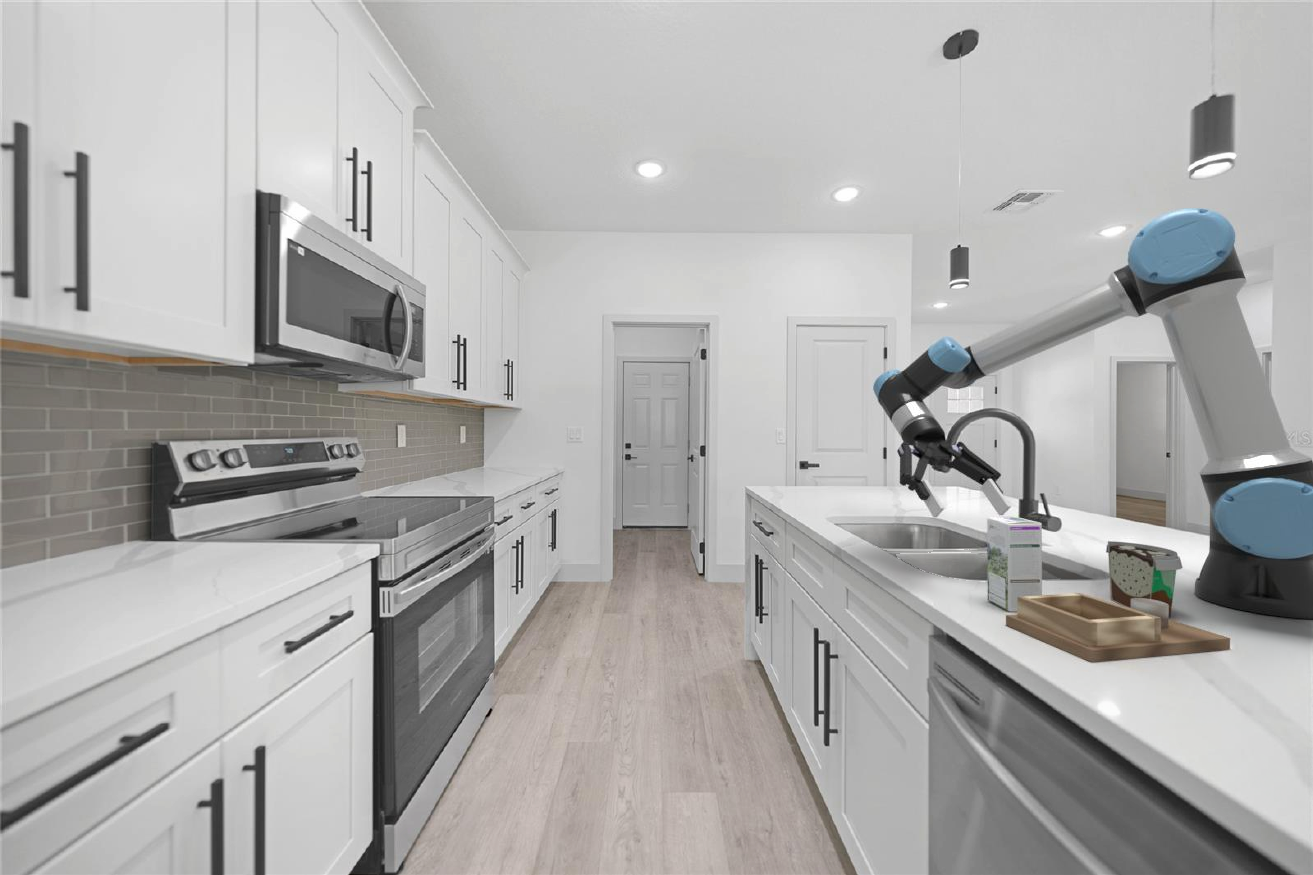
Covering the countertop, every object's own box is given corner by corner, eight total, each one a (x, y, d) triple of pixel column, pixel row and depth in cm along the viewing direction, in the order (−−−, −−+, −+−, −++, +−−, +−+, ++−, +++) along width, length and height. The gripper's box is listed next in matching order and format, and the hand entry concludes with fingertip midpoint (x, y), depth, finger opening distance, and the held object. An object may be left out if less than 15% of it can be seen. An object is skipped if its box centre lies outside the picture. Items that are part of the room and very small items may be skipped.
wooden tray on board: (1127, 616, 84) (1127, 587, 83) (1230, 649, 71) (1230, 615, 71) (1005, 625, 80) (1006, 595, 79) (1091, 662, 67) (1091, 626, 67)
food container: (1204, 625, 80) (1205, 558, 80) (1156, 622, 81) (1156, 556, 81) (1146, 600, 92) (1147, 541, 92) (1105, 597, 93) (1105, 540, 93)
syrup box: (1043, 612, 85) (1044, 522, 85) (1006, 612, 85) (1007, 521, 85) (1020, 601, 91) (1020, 516, 91) (985, 601, 91) (985, 516, 91)
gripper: (961, 441, 116) (1019, 522, 101) (856, 441, 111) (900, 526, 97) (981, 416, 110) (1045, 497, 96) (870, 415, 106) (920, 500, 91)
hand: (972, 512), depth 96 cm, fingers open, 13 cm apart
